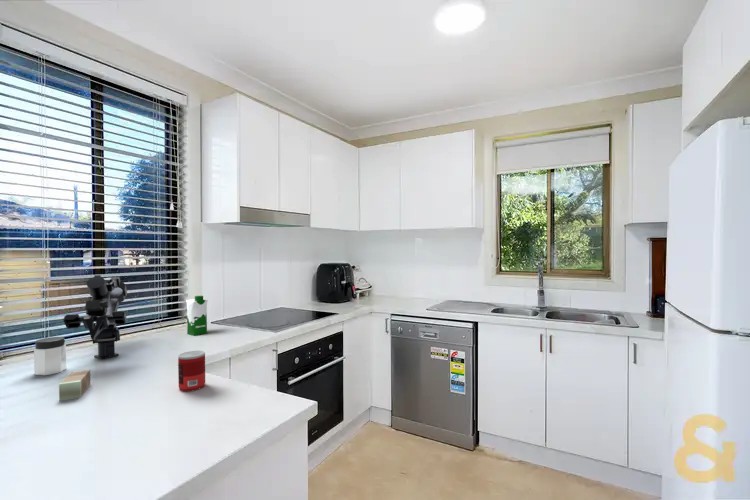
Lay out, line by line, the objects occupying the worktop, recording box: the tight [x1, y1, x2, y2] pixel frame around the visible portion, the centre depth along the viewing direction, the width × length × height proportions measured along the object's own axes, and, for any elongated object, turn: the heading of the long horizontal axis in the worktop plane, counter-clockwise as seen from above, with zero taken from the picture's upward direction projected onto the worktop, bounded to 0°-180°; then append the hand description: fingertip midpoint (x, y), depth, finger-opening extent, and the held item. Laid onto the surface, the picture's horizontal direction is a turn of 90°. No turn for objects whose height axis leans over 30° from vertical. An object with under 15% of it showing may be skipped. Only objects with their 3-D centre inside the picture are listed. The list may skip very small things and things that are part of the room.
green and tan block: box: [58, 369, 91, 402], centre depth 118 cm, size 5×5×12 cm
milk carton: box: [185, 295, 209, 336], centre depth 196 cm, size 9×9×20 cm
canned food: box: [177, 350, 206, 392], centre depth 122 cm, size 8×8×11 cm
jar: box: [33, 336, 67, 376], centre depth 137 cm, size 9×8×12 cm
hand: (92, 338), depth 137 cm, fingers closed
